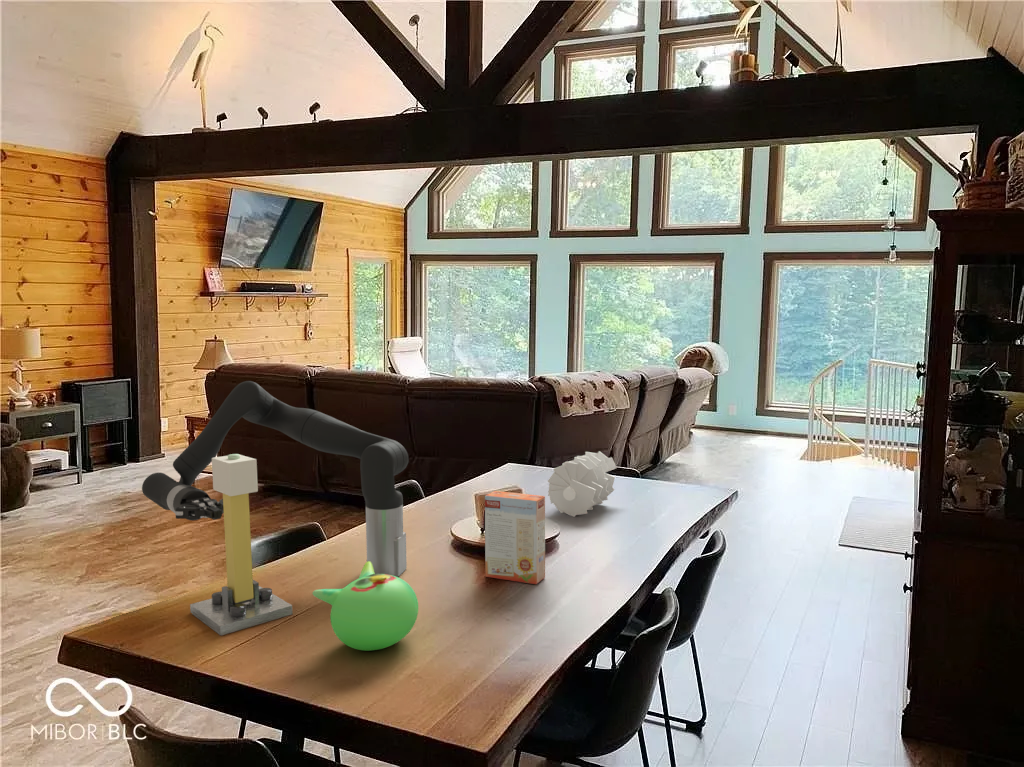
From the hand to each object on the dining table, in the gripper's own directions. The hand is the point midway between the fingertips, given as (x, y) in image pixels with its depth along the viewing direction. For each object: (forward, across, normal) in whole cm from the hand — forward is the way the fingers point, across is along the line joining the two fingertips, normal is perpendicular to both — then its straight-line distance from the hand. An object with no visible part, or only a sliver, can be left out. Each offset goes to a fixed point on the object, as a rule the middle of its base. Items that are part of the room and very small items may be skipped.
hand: (217, 514), depth 177 cm
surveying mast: (+10, 0, +18) cm, 21 cm away
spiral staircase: (+5, +118, +22) cm, 120 cm away
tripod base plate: (+10, 0, +20) cm, 23 cm away
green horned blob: (+43, +12, +21) cm, 50 cm away
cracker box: (+36, +59, +22) cm, 72 cm away
